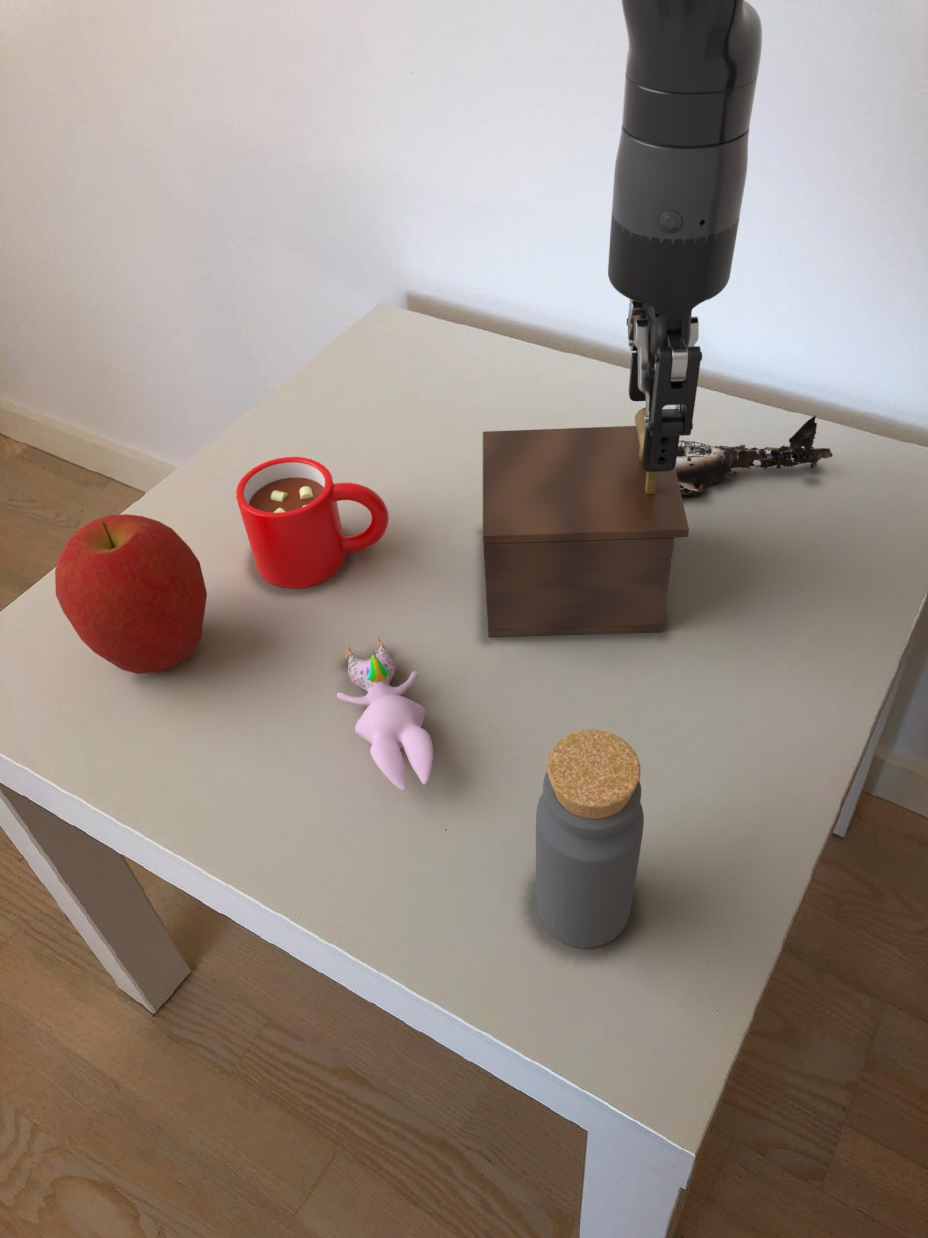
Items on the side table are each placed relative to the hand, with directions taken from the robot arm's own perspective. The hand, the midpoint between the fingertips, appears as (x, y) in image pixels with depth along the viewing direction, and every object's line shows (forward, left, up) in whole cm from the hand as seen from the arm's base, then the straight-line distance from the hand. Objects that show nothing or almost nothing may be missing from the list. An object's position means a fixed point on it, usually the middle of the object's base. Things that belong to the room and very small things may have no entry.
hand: (650, 431), depth 68 cm
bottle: (+6, +29, -15) cm, 33 cm away
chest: (+5, 0, -15) cm, 15 cm away
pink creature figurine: (+19, +15, -15) cm, 29 cm away
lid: (+5, 0, -5) cm, 7 cm away
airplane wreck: (-9, -12, -15) cm, 21 cm away
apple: (+38, +7, -15) cm, 42 cm away
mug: (+26, -4, -15) cm, 30 cm away
